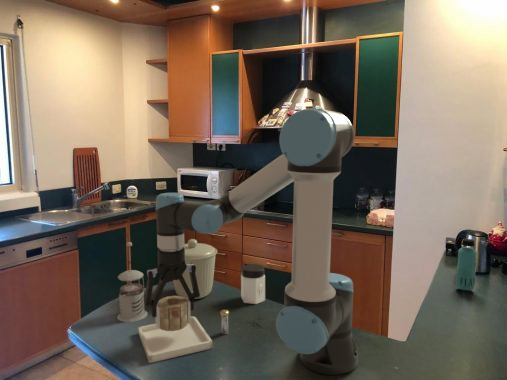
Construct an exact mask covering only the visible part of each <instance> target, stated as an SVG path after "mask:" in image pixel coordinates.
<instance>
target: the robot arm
mask: <svg viewBox="0 0 507 380" xmlns="http://www.w3.org/2000/svg"><path fill="white" fill-rule="evenodd" d="M354 142H355V129H354V127H353V124H352V123H351V121H350V119H349V118H348V117H347V116H345V115H344V114H343V113H341V112H338V111H335V110H327V109H322V108H314V107H313V108H307V109H306V108H305V109H301V110H298V111H296V112H294V113H292V115H290V116H289V117H288V118H287V119H286V120H285V122H284V123H283V125H282V126H281V130H280V132H279V148H280V151H281V153H282V154H281V155H279V156H278V157H276V158H275V159H274V160H272V161H271V162H269V163H267V165H265V166H264V167H263V168H261V169H260V170H258V171H257V172H256V173H254V174H252V175H250V177H248V178H247V179H245V180H244V181H243V182H241V183H240V184H238V185H237V186H236V187H234V188H233V189H231V190H229V192H227V193H225V194H224V195H222V196H221V197H220V198H216V199H212V200H208V201H203V202H199V203H197V202H196V203H195V202H188V201H185V199H184V195H183V193H180V192H164V193H160V194H158V195H156V199H155V215H156V216H155V217H156V218H155V219H156V239H157V240H156V241H157V248H158V249H157V266H156V267H155V268H153V269H150V268H148V269H146V274H147V275H146V276H147V281H146V288H145V292H144V294H145V295H144V305H145V306H146V307H151V308H150V310H151V311H150V312H151V313H150V314H151V316H152V318H154V319H155V323H154V324H156V327H157V329H160V310H159V305H158V301H159V300H160V299H161V295H162V294H163V291H164V289H165V287H166V285H167V283H168V282H171V281H173V280H178V279H179V281H180V283H181V285H182V287H183V288H184V290H185V292H186V294H187V296H188V298H186V300H187V314H188V323H191V317H192V313H191V312H192V311H194V308H195V306H194V304H195V303H194V302H195V300H196V299H195V298H198V297H199V296H200V293H199V289H198V284H197V279H196V274H195V272H196V266H195V265H194V264H193V263H191V264H186V263H185V249H184V248H183V247H184V246H185V244H186V243H185V231H189V232H195V233H198V234H202V235H203V234H204V235H207V234H209V235H213V234H216V233H217V232H218V231H219V230H220V229H221V228H222V225H226V224H228V223H233V222H235V221H237V220H239V219H241V218H243V216H244V214H245V213H247V212H248V211H250V210H251V209H253V208H254V207H256V206H257V205H259V204H260V203H262V202H265V200H267V199H268V198H270V197H271V196H273V195H275V194H276V193H277V192H279V191H281V190H282V189H284V188H286V186H288V185H290V184H291V183H293V208H292V209H293V210H292V213H293V214H292V215H293V217H292V247H291V249H292V251H291V252H292V254H291V281H290V282H289V283H288V284H287V285H285V289H284V303H283V308H282V309H281V310H279V312H278V315H276V320H275V327H276V331H277V333H278V336H279V337H280V340H282V341H283V342H284V344H285V345H286V346H287V348H289V349H290V350H292V351H293V352H296V353H298V354H299V358H300V362H301V363H302V364H303V366H305V367H306V368H307V369H310V371H313V372H316V373H318V374H322V375H330V376H337V375H345V374H348V373H350V372H352V371H353V370H355V369H356V368H357V366H358V362H359V354H358V353H359V352H358V350H357V346H356V343H355V339H354V336H353V333H352V332H353V331H352V330H353V305H354V304H353V303H354V292H355V291H354V282H353V280H352V279H351V278H350V277H349V276H346V275H343V274H341V273H333V272H331V254H332V253H331V251H332V247H331V246H332V227H333V226H332V223H333V221H332V220H333V202H334V200H333V197H334V180H335V179H336V178H337V177H338V176H339V175H340V174H341V172H342V157H345V155H346V154H348V152H349V151H350V150H351V148H352V146H353V145H354ZM186 268H187V270H188V271H189V274H190V279H191V284H192V288H193V293H191V291H190V289H189V287H188V286H187V284H186V282H185V279H184V278H183V276H182V274H183V273H184V271H185V270H186ZM157 274H158V275H160V277H159V279H158V283H157V286H156V288H155V291H154V293H153V287H154V282H155V281H154V280H155V279H154V278H155V277H156V276H157ZM152 293H153V295H152ZM198 299H199V298H198Z"/></svg>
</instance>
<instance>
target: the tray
mask: <svg viewBox="0 0 507 380" xmlns="http://www.w3.org/2000/svg"><path fill="white" fill-rule="evenodd" d="M199 321H200V320H198V318H197V317H196V316H195V315H193V316H192V315H191V323H188V324H187V326H186V327H184V328H183V329H180V330H177V331H165V330H161V329H157V327H156V324H155V323H152V324H147V325H143V326H138V327H137V332H138V337H139V339H140V341H141V344H142V347H143V350H144V352H145V356H146V358H147V361H148V364H151V363H156V362H161V361H165V360H168V359H173V358H178V357H181V356H185V355H190V354H195V353H198V352H202V351H207V350H212V349H214V342H213V340H212V338H211V337H210V335H209V334H208V333H207V331H206V330H205V328H204V327H203V326H202V325H201V323H200V322H199Z"/></svg>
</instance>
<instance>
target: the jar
mask: <svg viewBox="0 0 507 380" xmlns="http://www.w3.org/2000/svg"><path fill="white" fill-rule="evenodd" d="M240 288H241V289H240V297H241V300H242V301H243V303H244V304H252V305H258V304H259V303H263V302H265V301H266V275H265V266H263V265H261V264H259V263H258V264H255V263H249V264H245V265H243V266H242V267H241V273H240Z"/></svg>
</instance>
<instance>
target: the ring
mask: <svg viewBox="0 0 507 380" xmlns="http://www.w3.org/2000/svg"><path fill="white" fill-rule="evenodd" d="M158 305H159V310H160V329H161V330H165V331H177V330H180V329H183V328H184V327H186V326H187V324H188V314H187V300H186V298H185V297H181V296H178V295H170V296H169V295H168V296H166V297H163V298H160V299H159V301H158Z"/></svg>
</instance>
